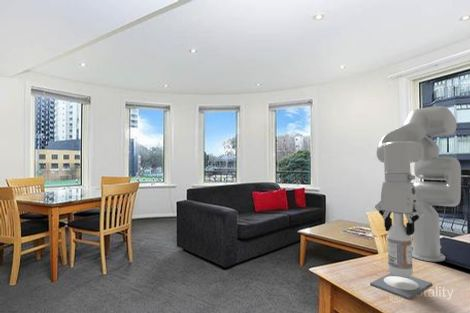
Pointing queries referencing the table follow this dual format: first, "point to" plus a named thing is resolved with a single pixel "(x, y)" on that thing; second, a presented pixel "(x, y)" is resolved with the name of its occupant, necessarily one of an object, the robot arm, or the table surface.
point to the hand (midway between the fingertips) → (399, 231)
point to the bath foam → (399, 247)
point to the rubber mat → (401, 285)
